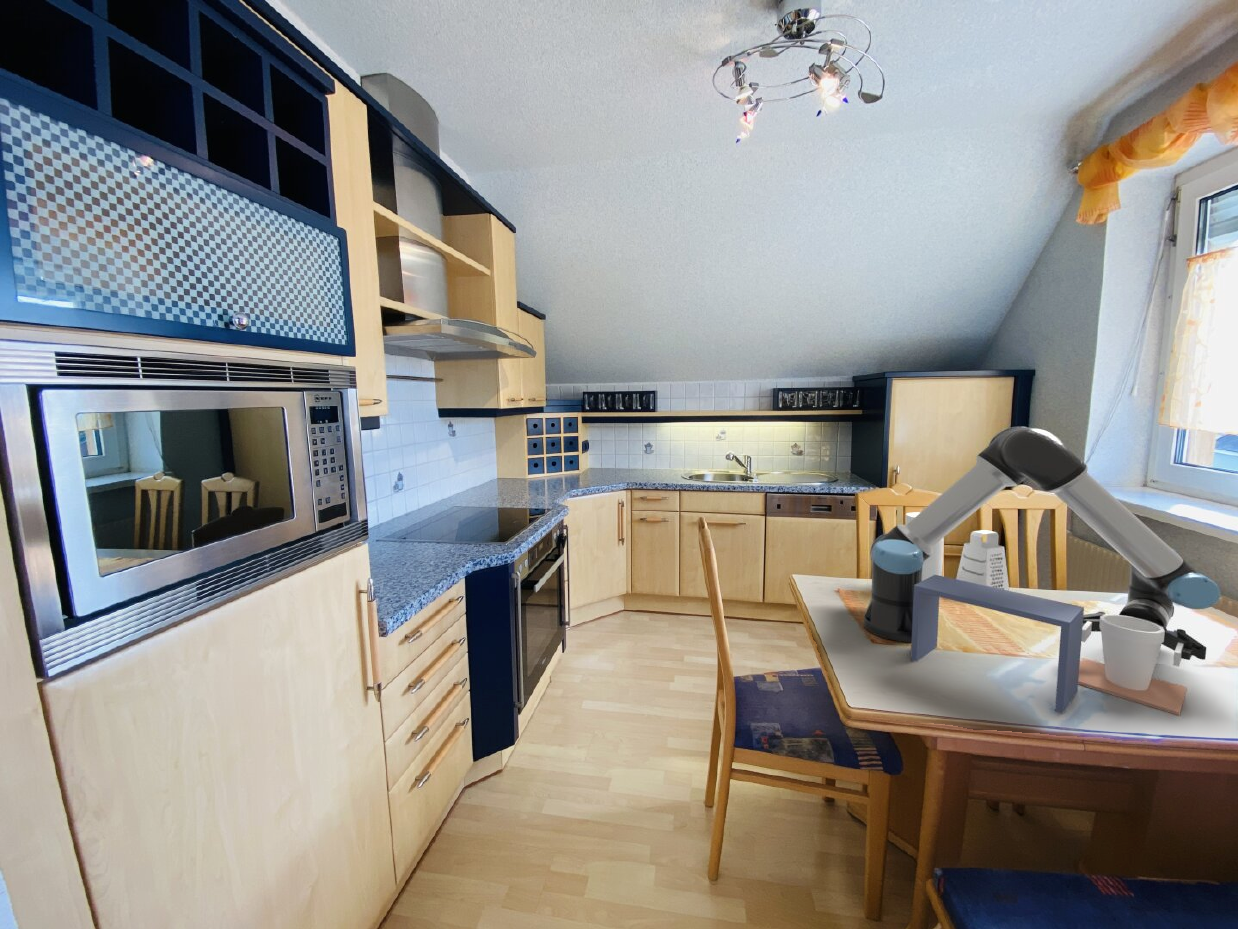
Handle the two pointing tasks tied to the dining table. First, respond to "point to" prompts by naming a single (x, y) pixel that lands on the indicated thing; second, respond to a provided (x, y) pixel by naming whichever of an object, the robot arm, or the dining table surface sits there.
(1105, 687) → the mat
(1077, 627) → the rectangular arch
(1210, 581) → the robot arm
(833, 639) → the dining table surface
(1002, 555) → the grater
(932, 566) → the tall pillar cylinder
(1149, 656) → the foam cup
